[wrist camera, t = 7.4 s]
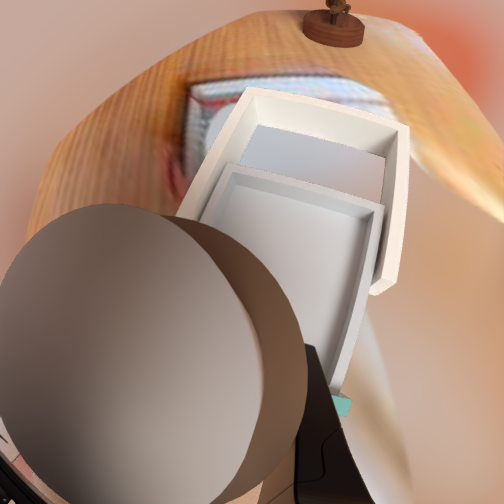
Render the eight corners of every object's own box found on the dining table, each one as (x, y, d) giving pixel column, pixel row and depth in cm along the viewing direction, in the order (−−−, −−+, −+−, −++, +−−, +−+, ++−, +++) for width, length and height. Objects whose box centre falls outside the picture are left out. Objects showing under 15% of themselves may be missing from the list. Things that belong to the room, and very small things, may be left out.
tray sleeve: (376, 295, 22) (396, 282, 18) (191, 238, 25) (175, 216, 21) (396, 153, 27) (409, 126, 23) (251, 116, 30) (247, 86, 26)
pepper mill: (201, 409, 14) (9, 504, 2) (186, 322, 16) (-15, 220, 3) (292, 395, 14) (352, 549, 1) (274, 306, 16) (263, 123, 3)
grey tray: (334, 406, 19) (346, 417, 15) (155, 342, 22) (133, 339, 18) (382, 224, 24) (397, 202, 20) (224, 179, 27) (216, 153, 23)
